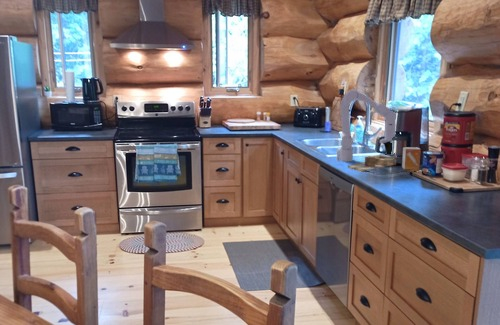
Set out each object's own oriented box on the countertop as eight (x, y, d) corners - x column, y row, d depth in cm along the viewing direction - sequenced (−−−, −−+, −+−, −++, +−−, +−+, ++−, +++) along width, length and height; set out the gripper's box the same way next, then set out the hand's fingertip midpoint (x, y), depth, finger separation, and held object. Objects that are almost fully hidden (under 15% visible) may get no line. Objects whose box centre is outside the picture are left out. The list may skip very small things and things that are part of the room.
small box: (404, 172, 247) (405, 148, 245) (401, 169, 254) (402, 146, 251) (419, 172, 247) (420, 149, 244) (416, 169, 253) (417, 146, 250)
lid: (378, 156, 266) (379, 151, 265) (387, 154, 269) (387, 150, 269) (389, 158, 259) (389, 153, 259) (397, 156, 263) (398, 152, 262)
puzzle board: (348, 168, 258) (348, 159, 257) (378, 163, 271) (379, 155, 270) (364, 172, 247) (365, 163, 246) (395, 167, 260) (396, 158, 259)
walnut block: (364, 168, 258) (365, 156, 257) (369, 167, 261) (370, 156, 259) (369, 169, 255) (370, 158, 254) (374, 168, 257) (375, 157, 256)
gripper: (386, 133, 254) (385, 156, 257) (404, 131, 262) (402, 154, 265) (377, 131, 260) (376, 154, 263) (394, 129, 268) (393, 152, 270)
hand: (388, 154), depth 264 cm, fingers closed
